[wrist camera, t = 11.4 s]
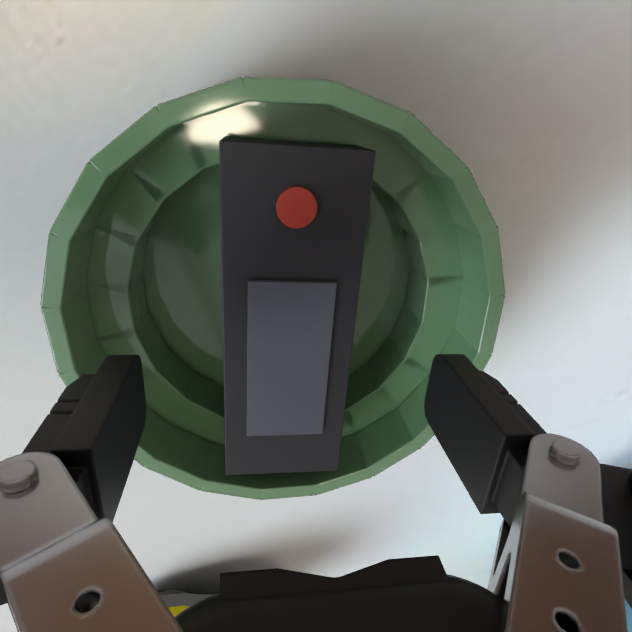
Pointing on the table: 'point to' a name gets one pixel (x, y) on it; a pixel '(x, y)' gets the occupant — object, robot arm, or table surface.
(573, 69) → the table surface
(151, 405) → the bowl
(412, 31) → the table surface
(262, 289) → the remote
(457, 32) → the table surface
